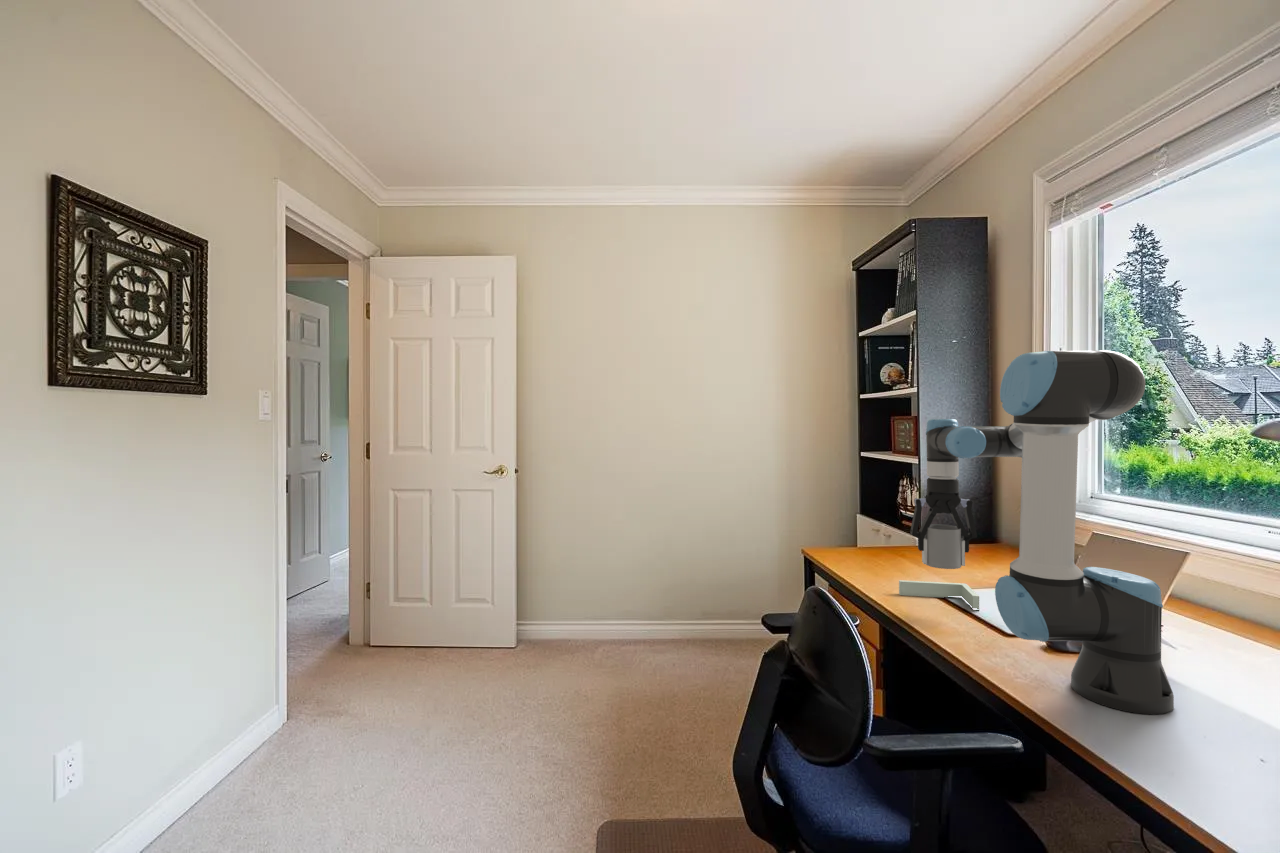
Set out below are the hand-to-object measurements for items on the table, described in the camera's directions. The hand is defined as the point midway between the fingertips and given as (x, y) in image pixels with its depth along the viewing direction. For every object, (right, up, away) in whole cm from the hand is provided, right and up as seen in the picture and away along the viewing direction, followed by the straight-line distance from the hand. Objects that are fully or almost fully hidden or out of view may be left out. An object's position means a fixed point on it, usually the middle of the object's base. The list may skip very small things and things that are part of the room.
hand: (943, 563), depth 159 cm
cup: (0, -1, 0) cm, 1 cm away
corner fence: (+4, -13, +12) cm, 18 cm away
